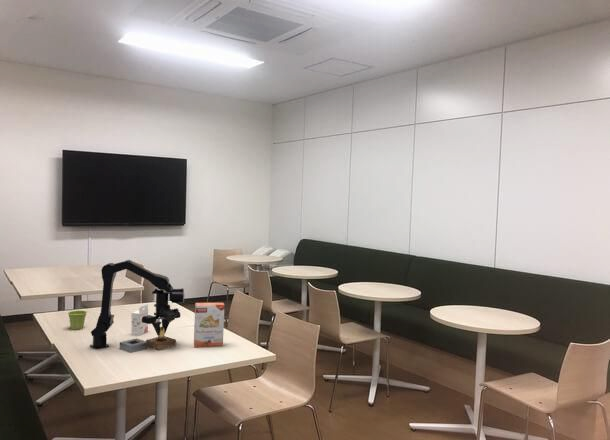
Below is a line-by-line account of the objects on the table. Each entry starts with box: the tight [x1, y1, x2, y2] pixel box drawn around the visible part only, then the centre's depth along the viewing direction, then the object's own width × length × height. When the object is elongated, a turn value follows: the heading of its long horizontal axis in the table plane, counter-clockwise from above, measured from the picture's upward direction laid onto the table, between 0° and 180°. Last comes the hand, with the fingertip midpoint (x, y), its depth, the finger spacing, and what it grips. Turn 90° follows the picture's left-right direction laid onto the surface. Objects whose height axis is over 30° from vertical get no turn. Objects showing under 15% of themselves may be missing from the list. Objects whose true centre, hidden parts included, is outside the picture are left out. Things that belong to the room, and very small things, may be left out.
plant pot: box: [67, 310, 88, 331], centre depth 253 cm, size 9×9×9 cm
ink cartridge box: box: [130, 304, 149, 336], centre depth 248 cm, size 9×5×15 cm, turn 168°
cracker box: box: [193, 302, 225, 348], centre depth 232 cm, size 14×6×21 cm, turn 105°
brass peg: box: [157, 326, 166, 342], centre depth 228 cm, size 3×3×8 cm
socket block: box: [119, 337, 149, 354], centre depth 223 cm, size 9×9×3 cm
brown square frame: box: [145, 335, 177, 351], centre depth 228 cm, size 10×10×3 cm
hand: (161, 334), depth 228 cm, fingers closed on brass peg, 3 cm apart
